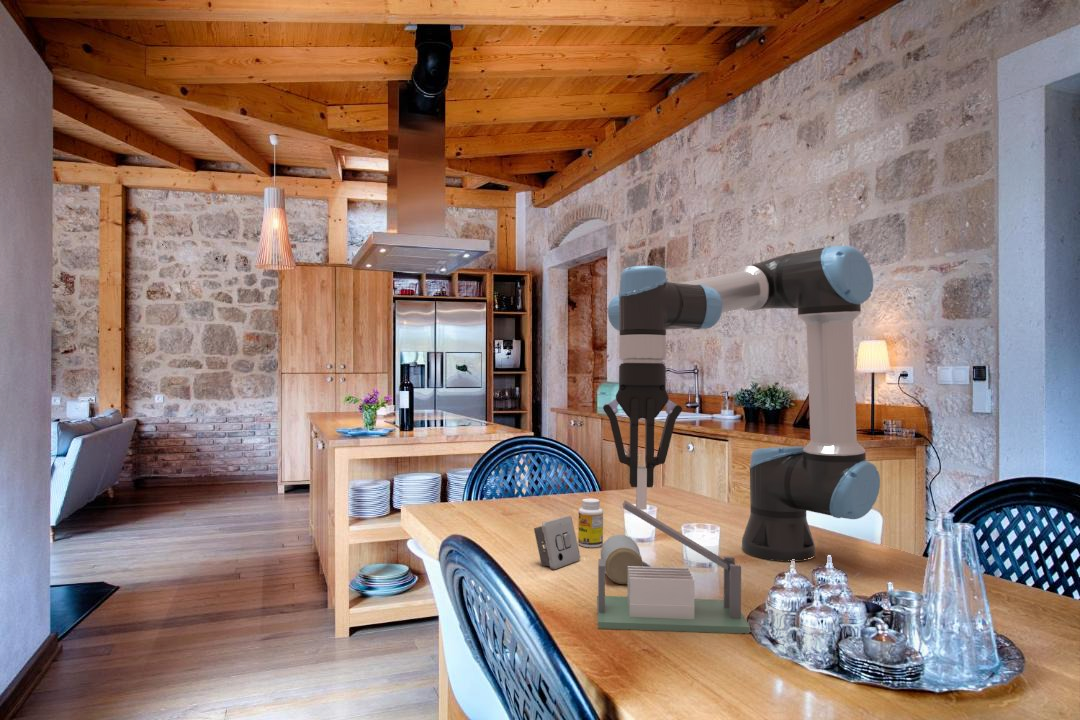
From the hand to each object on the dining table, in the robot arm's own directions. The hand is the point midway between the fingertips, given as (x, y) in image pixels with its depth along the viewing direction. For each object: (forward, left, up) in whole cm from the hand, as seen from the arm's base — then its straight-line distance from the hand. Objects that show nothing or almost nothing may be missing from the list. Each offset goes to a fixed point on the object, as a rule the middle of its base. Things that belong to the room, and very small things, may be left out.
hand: (641, 507), depth 109 cm
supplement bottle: (+8, -43, -18) cm, 47 cm away
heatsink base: (-5, 0, -18) cm, 18 cm away
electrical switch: (+15, -28, -18) cm, 36 cm away
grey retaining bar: (-6, 0, -5) cm, 8 cm away
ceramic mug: (+1, -19, -18) cm, 26 cm away
